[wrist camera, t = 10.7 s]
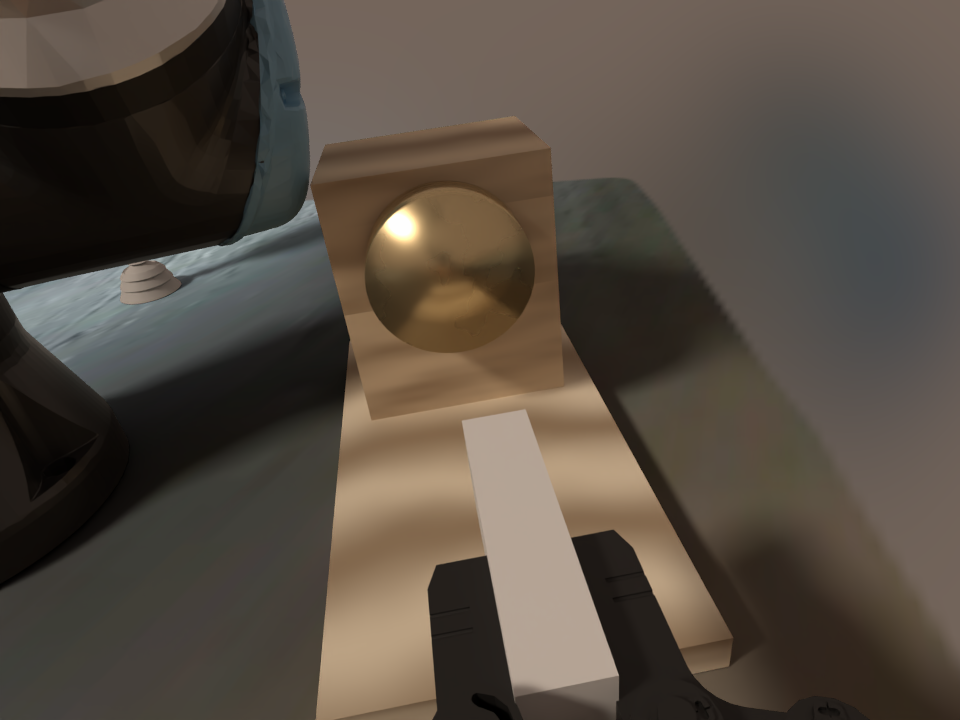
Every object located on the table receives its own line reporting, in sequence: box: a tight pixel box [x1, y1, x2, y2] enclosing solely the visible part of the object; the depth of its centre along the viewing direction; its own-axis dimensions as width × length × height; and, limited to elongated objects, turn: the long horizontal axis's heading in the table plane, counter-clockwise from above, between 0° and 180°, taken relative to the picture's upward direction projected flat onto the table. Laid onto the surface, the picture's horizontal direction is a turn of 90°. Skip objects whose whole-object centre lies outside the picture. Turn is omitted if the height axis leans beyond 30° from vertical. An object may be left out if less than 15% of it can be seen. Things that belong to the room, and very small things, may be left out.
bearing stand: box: [310, 116, 733, 720], centre depth 26 cm, size 24×13×14 cm, turn 8°
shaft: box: [365, 181, 535, 353], centre depth 31 cm, size 12×7×7 cm, turn 8°
